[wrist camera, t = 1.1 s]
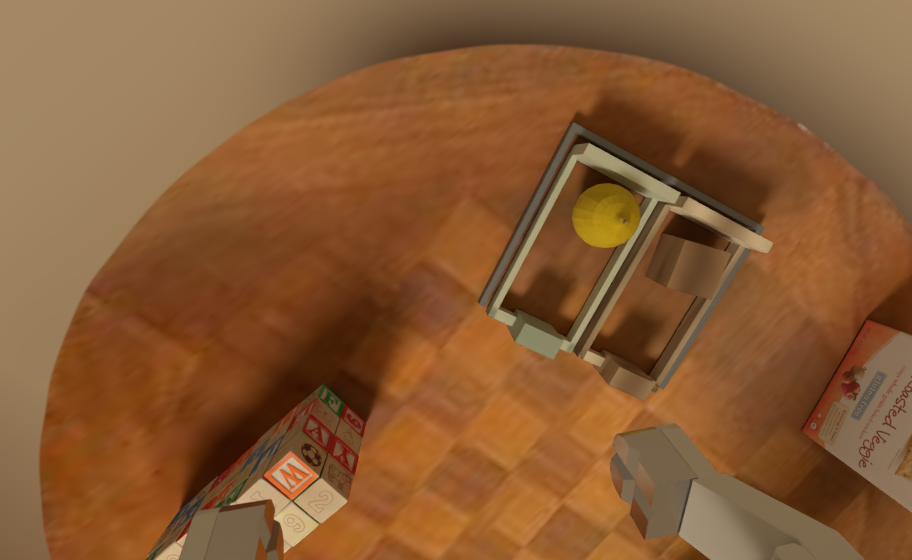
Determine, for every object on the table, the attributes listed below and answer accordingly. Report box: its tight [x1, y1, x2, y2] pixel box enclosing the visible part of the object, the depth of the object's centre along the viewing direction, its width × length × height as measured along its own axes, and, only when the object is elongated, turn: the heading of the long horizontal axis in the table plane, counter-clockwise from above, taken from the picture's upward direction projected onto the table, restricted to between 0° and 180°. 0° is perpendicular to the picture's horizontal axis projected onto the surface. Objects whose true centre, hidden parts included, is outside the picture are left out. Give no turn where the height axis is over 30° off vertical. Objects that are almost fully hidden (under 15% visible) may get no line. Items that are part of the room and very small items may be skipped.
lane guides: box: [478, 122, 765, 389], centre depth 47 cm, size 21×19×1 cm
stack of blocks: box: [146, 384, 366, 560], centre depth 44 cm, size 21×6×12 cm, turn 132°
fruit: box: [572, 183, 641, 248], centre depth 42 cm, size 6×6×8 cm
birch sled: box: [574, 196, 774, 401], centre depth 46 cm, size 9×18×4 cm, turn 154°
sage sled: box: [486, 143, 681, 359], centre depth 44 cm, size 9×18×4 cm, turn 154°
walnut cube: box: [646, 233, 731, 300], centre depth 45 cm, size 4×4×4 cm
